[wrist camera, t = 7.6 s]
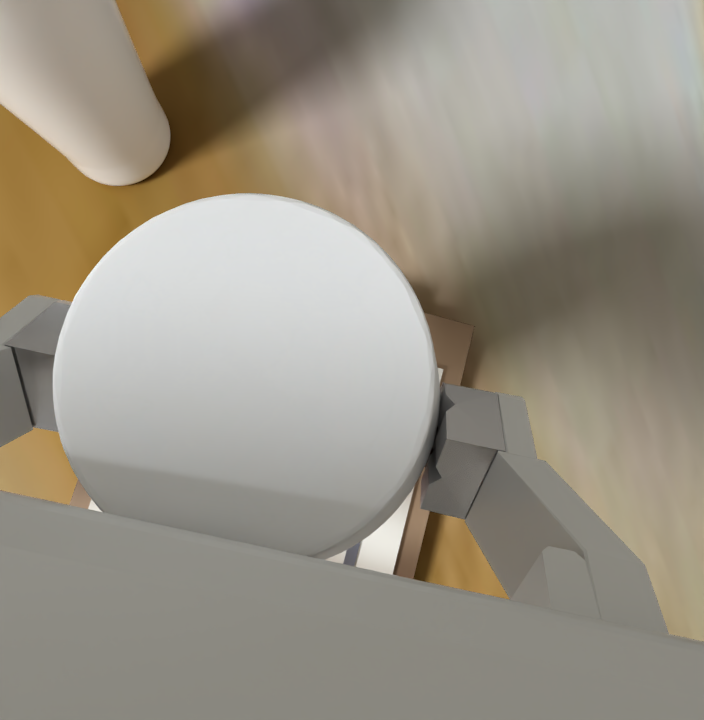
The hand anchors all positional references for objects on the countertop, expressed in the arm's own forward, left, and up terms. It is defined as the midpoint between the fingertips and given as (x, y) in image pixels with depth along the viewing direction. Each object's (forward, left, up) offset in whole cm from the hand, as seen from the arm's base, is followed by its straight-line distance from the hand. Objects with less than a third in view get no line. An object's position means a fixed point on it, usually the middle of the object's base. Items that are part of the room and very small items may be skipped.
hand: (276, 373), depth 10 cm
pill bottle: (0, 0, -7) cm, 7 cm away
